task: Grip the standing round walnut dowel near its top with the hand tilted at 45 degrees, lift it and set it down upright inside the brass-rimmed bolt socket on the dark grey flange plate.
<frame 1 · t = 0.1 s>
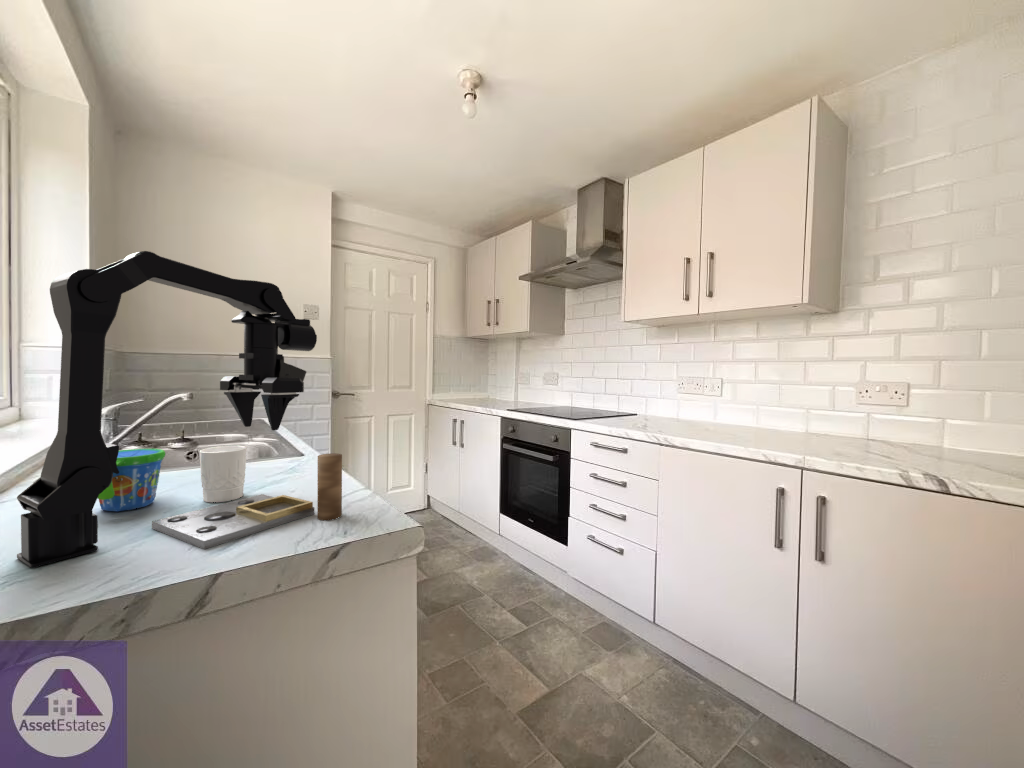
hand: (261, 428, 83), 15 cm above the countertop, tool pointing down, fingers open, 9 cm apart
white cup: (223, 498, 86), on the countertop
dowel: (329, 516, 76), on the countertop
snack cup: (128, 507, 80), on the countertop
flange plate: (237, 520, 73), on the countertop
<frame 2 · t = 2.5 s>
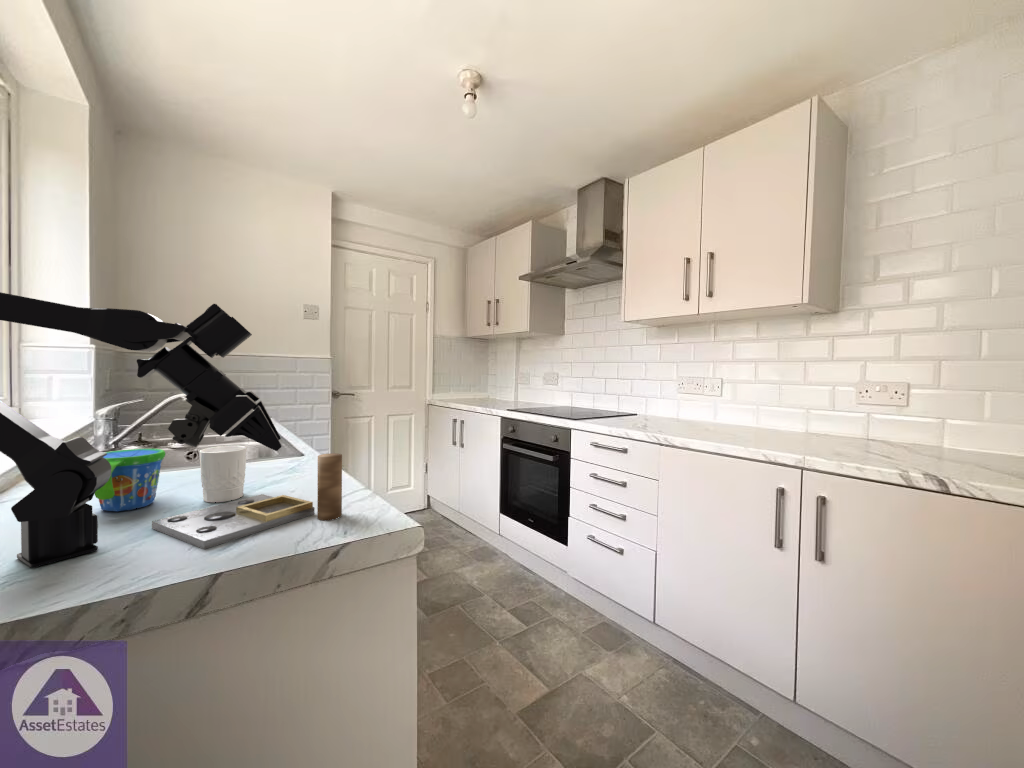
hand: (278, 444, 72), 14 cm above the countertop, tool tilted 45°, fingers open, 9 cm apart
nothing on the countertop moved.
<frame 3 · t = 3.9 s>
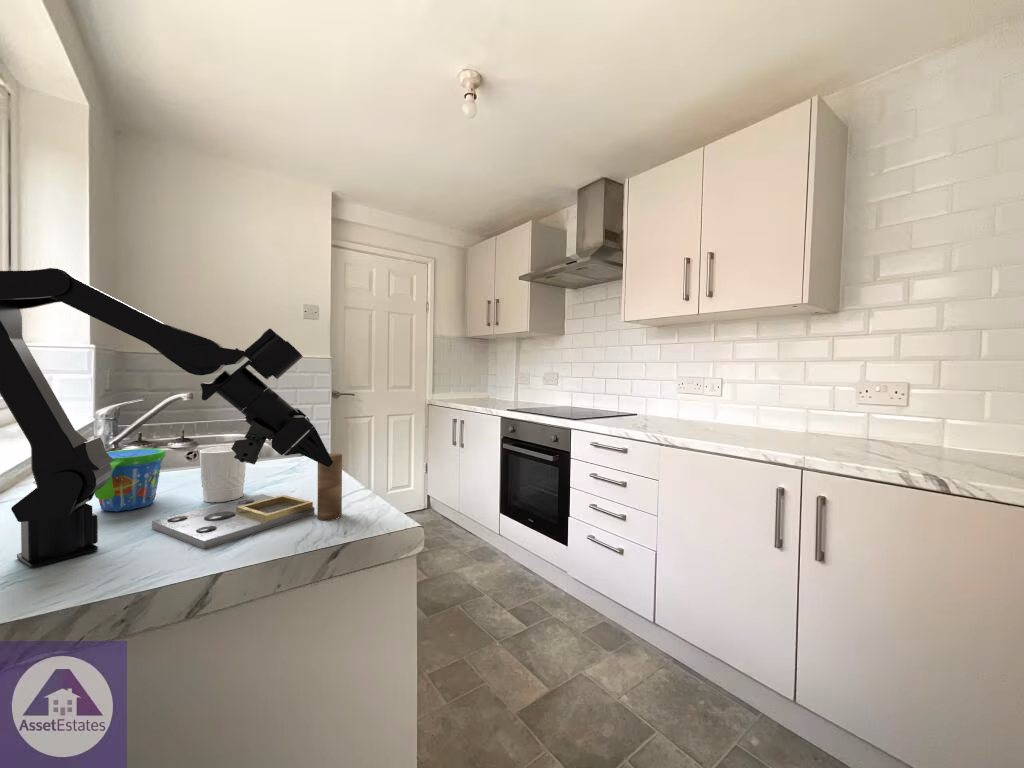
hand: (327, 459, 76), 10 cm above the countertop, tool tilted 45°, fingers open, 9 cm apart
nothing on the countertop moved.
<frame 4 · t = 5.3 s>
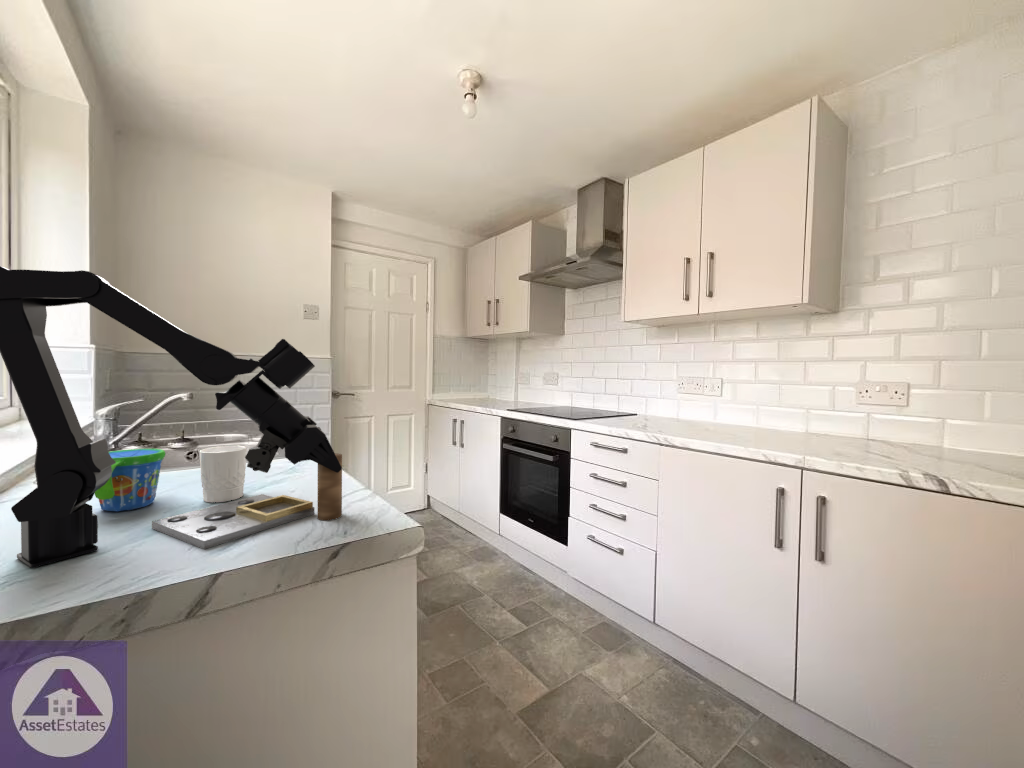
hand: (338, 468, 76), 9 cm above the countertop, tool tilted 45°, fingers closed on dowel, 4 cm apart
dowel: (329, 516, 76), on the countertop, touching gripper
everything else where it was.
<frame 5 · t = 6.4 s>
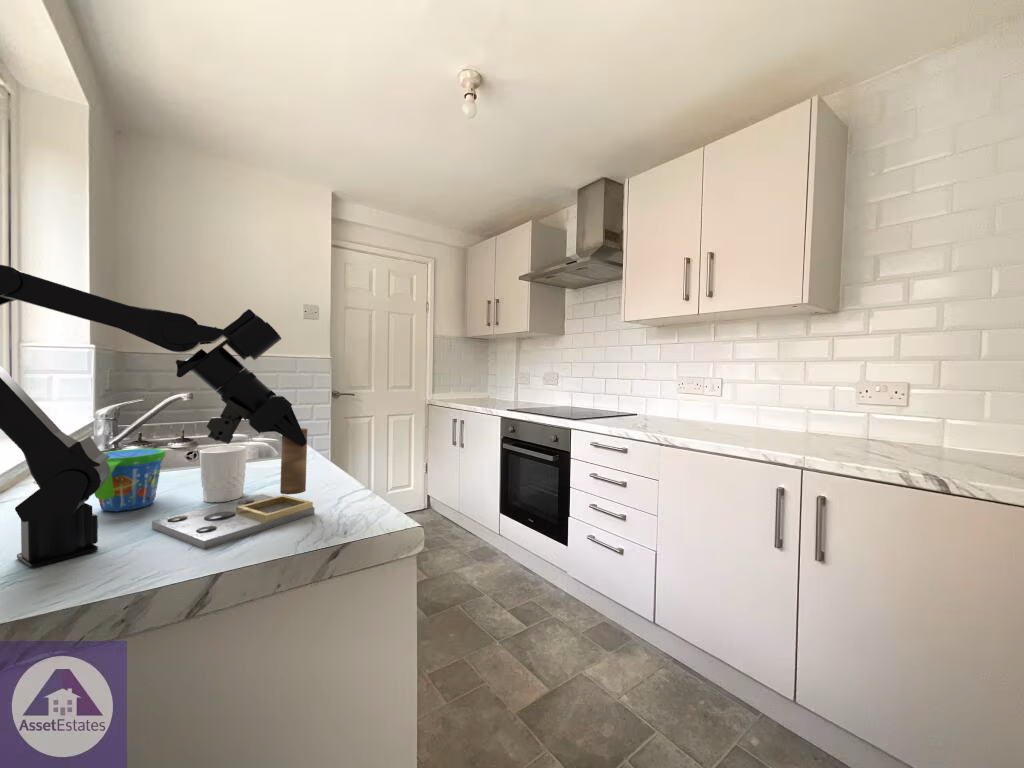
hand: (302, 442, 76), 13 cm above the countertop, tool tilted 45°, fingers closed on dowel, 4 cm apart
dowel: (293, 491, 75), point 5 cm above the countertop, touching gripper
everything else where it was.
when the fingers open (11 cm above the countertop, at t = 7.5 s): dowel stays where it is, resting on flange plate.
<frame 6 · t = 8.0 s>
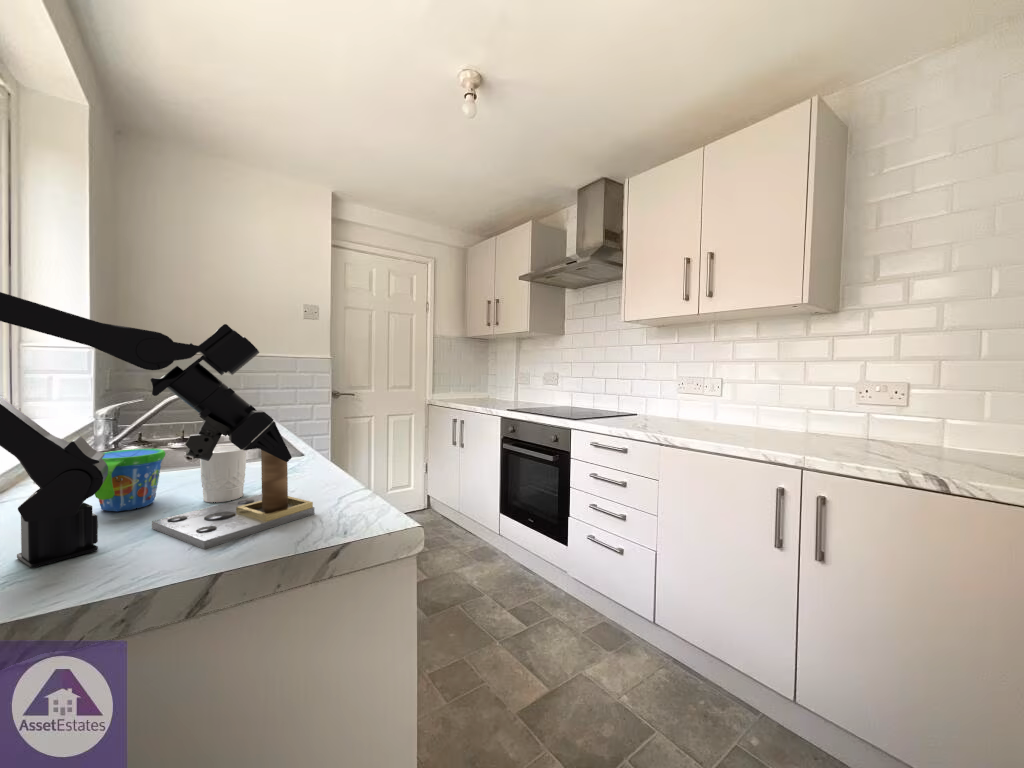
hand: (284, 455, 76), 11 cm above the countertop, tool tilted 45°, fingers open, 9 cm apart
dowel: (275, 509, 75), point 1 cm above the countertop, touching flange plate
everything else where it was.
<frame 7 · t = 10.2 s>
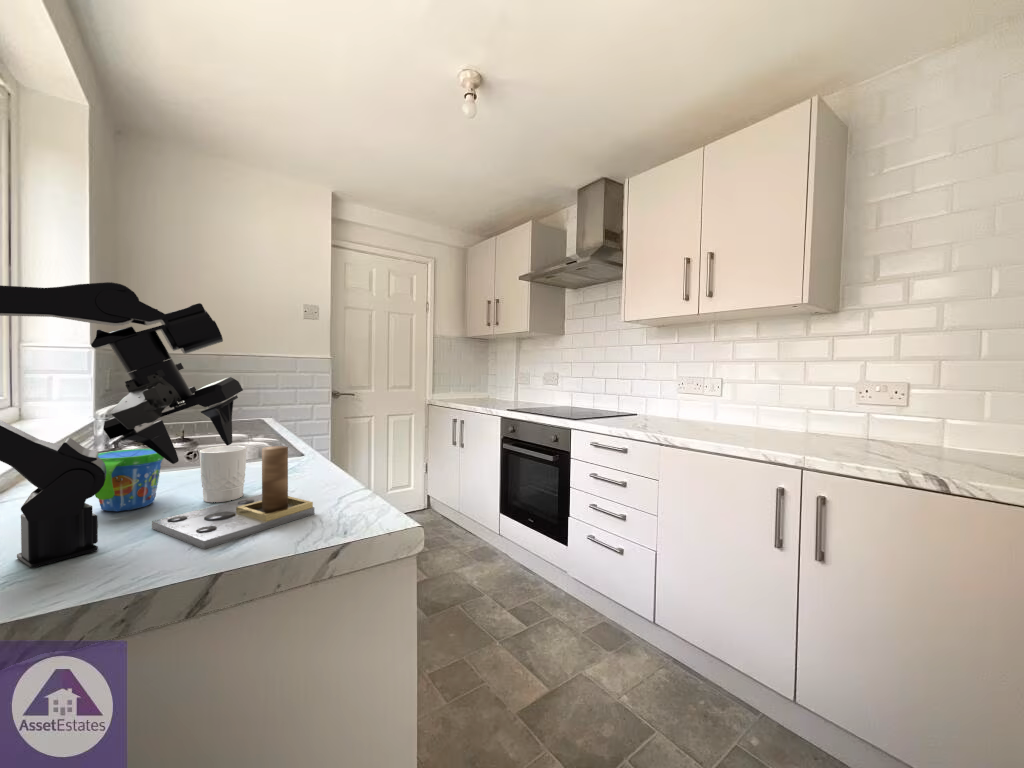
hand: (202, 453, 69), 12 cm above the countertop, tool tilted 25°, fingers open, 9 cm apart
nothing on the countertop moved.
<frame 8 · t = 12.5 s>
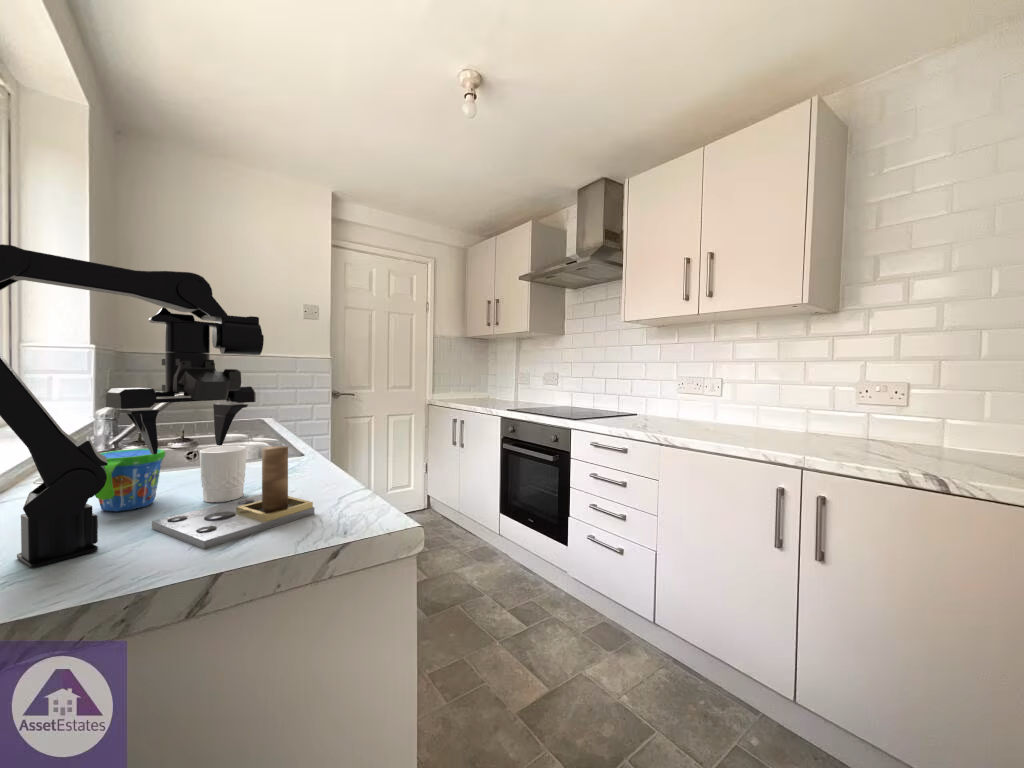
hand: (188, 449, 69), 13 cm above the countertop, tool pointing down, fingers open, 9 cm apart
nothing on the countertop moved.
at the end: dowel 0.1 cm from the target spot on the flange plate, point 1.3 cm above the flange plate's base; dowel tilted 0°; the gripper is holding nothing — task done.
